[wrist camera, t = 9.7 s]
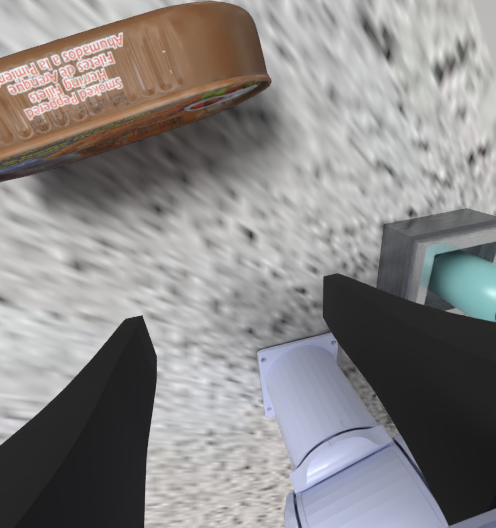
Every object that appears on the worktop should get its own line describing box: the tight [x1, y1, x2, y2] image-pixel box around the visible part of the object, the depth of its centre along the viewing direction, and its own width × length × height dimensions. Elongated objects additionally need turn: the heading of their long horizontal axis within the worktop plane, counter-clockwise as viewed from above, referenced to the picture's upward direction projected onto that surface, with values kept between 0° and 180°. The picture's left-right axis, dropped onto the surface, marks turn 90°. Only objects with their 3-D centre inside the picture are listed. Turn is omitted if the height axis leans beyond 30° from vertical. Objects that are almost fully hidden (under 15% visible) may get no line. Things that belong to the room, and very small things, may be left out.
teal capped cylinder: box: [428, 249, 496, 322], centre depth 20 cm, size 4×4×6 cm
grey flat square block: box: [377, 209, 496, 314], centre depth 24 cm, size 8×8×4 cm
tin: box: [0, 1, 271, 182], centre depth 12 cm, size 15×3×8 cm, turn 107°
